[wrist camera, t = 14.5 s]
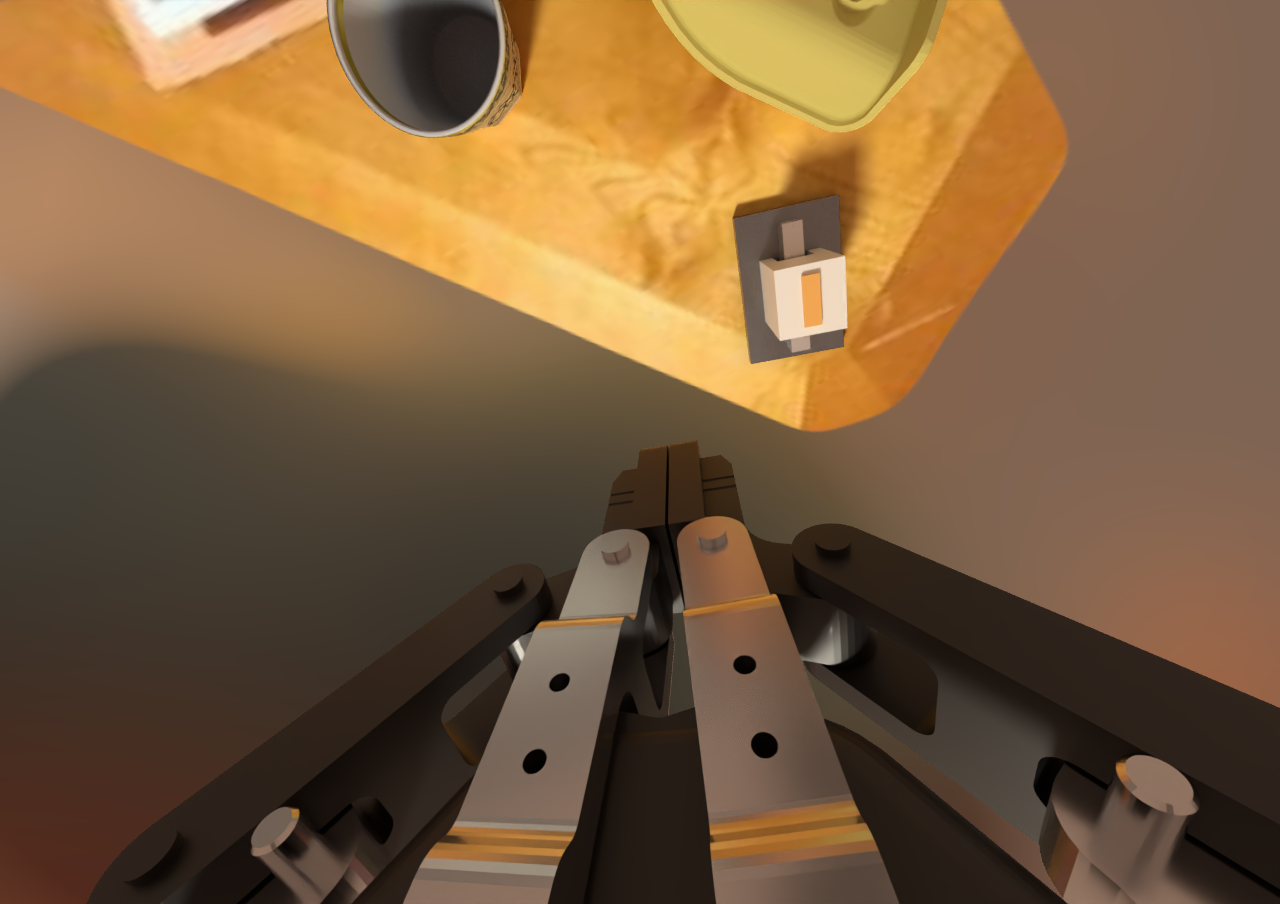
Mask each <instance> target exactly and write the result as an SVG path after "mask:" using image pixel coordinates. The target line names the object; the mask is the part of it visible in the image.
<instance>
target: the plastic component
mask: <svg viewBox="0 0 1280 904" xmlns="http://www.w3.org/2000/svg"><path fill="white" fill-rule="evenodd" d="M652 1H653V3H654V5H655V7H656V9H657V10H658V12H659V13H660V15H661V17H662V18H663V20H664V21H665V23H666V24H667V26H668V27H669V28H670V30H671V31H672V33H673V34H674V35H675V37H676V38H677V39H678V40H679V42H680V43H681V44H682V45H683V46H684V47H685V48H686V49H687V51H688V52H689V53H690V54H691V55H692V56H693V57H694V58H695V59H696V60H697V61H698V62H700V63H701V64H702V65H703V66H704V67H705V68H706V69H708V70H709V71H710V72H711V73H713V74H714V75H715V76H717V77H718V78H720V79H721V80H722V81H724V82H726V83H727V84H729V85H730V86H732V87H734V88H735V89H737V90H739V91H741V92H743V93H745V94H748V95H750V96H752V97H754V98H756V99H758V100H761V101H763V102H765V103H767V104H769V105H771V106H773V107H776V108H778V109H780V110H782V111H784V112H786V113H789V114H791V115H793V116H795V117H797V118H799V119H801V120H804V121H806V122H808V123H810V124H812V125H814V126H817V127H819V128H821V129H823V130H825V131H829V132H836V133H838V132H848V131H852V130H856V129H858V128H860V127H863V126H865V125H866V124H867V123H869V122H870V121H872V120H873V119H874V118H875V117H876V115H877V114H878V113H879V112H880V111H881V110H882V109H883V108H884V107H885V105H886V104H887V103H888V102H889V101H890V100H891V99H892V98H893V97H894V96H895V94H896V93H897V92H898V91H899V90H900V89H901V88H902V87H903V86H904V84H905V83H906V82H907V81H908V80H909V79H910V78H911V77H912V76H913V74H914V73H915V72H916V71H917V70H918V69H919V67H920V66H921V65H922V63H923V61H924V60H925V58H926V57H927V55H928V53H929V51H930V49H931V47H932V45H933V43H934V40H935V37H936V34H937V31H938V28H939V25H940V22H941V18H942V15H943V12H944V9H945V6H946V3H947V0H652Z"/></svg>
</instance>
